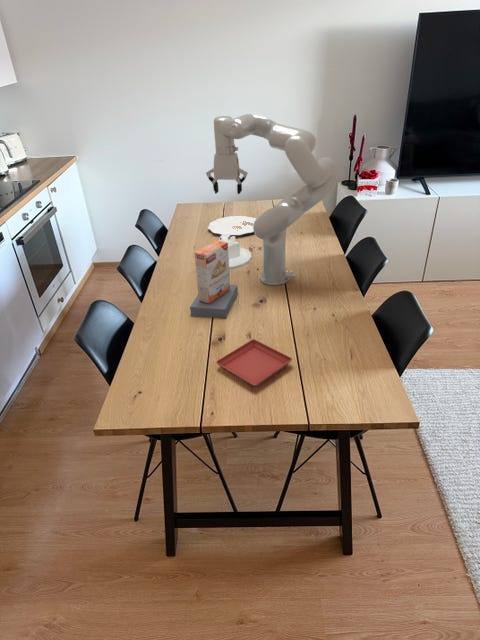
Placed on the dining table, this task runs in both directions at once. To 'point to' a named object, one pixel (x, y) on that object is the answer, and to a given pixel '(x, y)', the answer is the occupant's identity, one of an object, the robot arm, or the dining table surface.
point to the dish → (236, 252)
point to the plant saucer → (254, 362)
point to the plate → (227, 223)
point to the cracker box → (212, 271)
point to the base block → (215, 305)
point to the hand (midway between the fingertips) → (227, 192)
